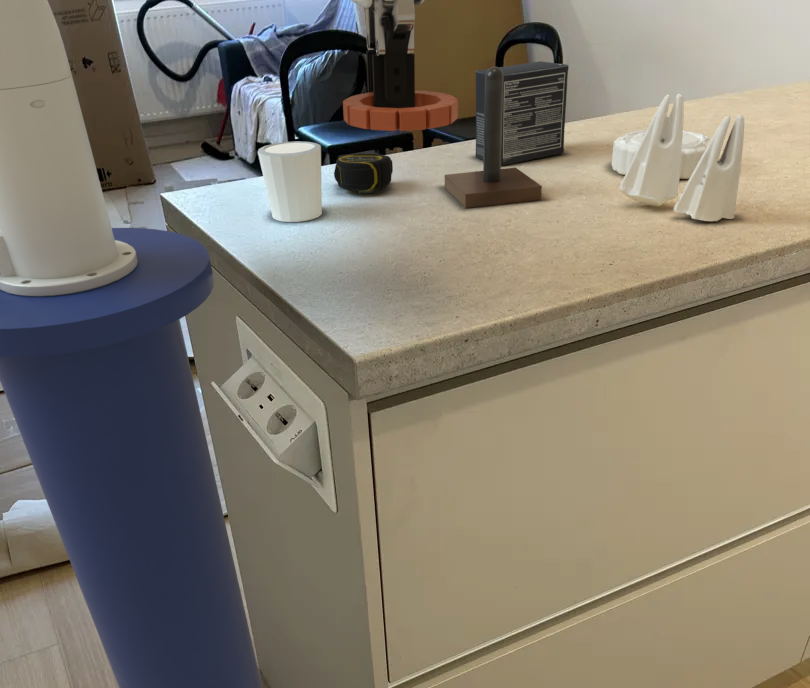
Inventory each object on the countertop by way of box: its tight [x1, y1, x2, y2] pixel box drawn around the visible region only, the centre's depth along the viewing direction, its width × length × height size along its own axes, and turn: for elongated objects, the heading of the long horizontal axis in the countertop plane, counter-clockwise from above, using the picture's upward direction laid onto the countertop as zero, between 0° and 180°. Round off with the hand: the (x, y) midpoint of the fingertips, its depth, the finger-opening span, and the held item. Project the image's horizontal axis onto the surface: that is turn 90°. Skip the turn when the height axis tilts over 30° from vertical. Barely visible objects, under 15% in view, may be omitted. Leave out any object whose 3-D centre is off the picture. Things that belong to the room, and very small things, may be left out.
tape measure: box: [333, 153, 394, 194], centre depth 97 cm, size 7×7×4 cm
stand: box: [444, 66, 543, 209], centre depth 90 cm, size 9×9×13 cm
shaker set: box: [619, 93, 745, 222], centre depth 82 cm, size 12×4×11 cm, turn 47°
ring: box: [342, 89, 459, 132], centre depth 61 cm, size 9×9×1 cm
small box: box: [475, 60, 570, 167], centre depth 105 cm, size 11×6×10 cm, turn 118°
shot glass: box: [257, 140, 323, 223], centre depth 89 cm, size 7×7×7 cm
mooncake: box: [610, 129, 712, 180], centre depth 99 cm, size 12×12×4 cm
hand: (391, 108), depth 64 cm, fingers closed on ring, 1 cm apart
